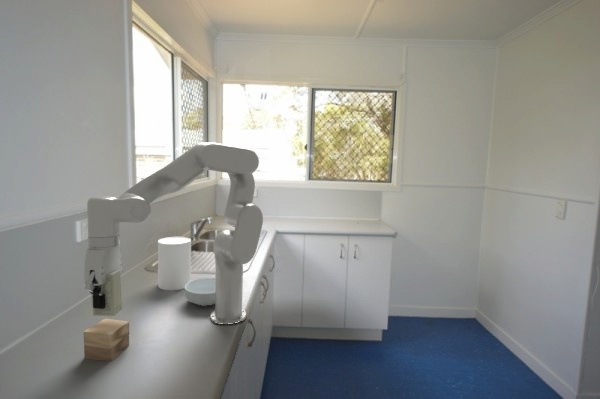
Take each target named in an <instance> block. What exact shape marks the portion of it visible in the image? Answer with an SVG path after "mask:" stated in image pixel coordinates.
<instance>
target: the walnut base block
mask: <svg viewBox="0 0 600 399" xmlns="http://www.w3.org/2000/svg"><path fill="white" fill-rule="evenodd" d="M129 346H130V334H129V335H128V336H127V337H125V338H124V339H123V340H121V341H120V342H119V343H117V344H116V345H115V346H113V347H112V348H111V349H106V348H99V347H92V346H86V345H84V344H83V351H84V353H83V354H84V357H83V358H84V359H88V360H98V361H106V362H107V361H108V362H113V361H114V360H115V359H116V358H117V357H119V356H120V354H121V353H122V352H124V351H125V350H126V349H127V348H128V347H129Z"/></svg>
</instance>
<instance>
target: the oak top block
mask: <svg viewBox="0 0 600 399" xmlns="http://www.w3.org/2000/svg"><path fill="white" fill-rule="evenodd" d="M128 335H129V336H130V321H129V320H128V321H127V320H121V319H112V318H103V319H101V320H100V321H99V322H97V323H95V324H93V325H92V326H90V327H89V328H86V329H85V330H83V346H84V345H86V346H92V347H99V348H106V349H111V348H112V347H113V346H115V345H116V344H117V343H119V342H120V341H121V340H123V339H124V338H125V337H127V336H128Z"/></svg>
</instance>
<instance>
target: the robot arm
mask: <svg viewBox="0 0 600 399" xmlns="http://www.w3.org/2000/svg"><path fill="white" fill-rule="evenodd" d="M259 164H260V160H259V157H258V153H256V152H255V151H254V150H252V149H250V148H247V147H240V146H234V145H227V144H223V143H218V142H200V143H199V142H198V143H197V144H196V145H193V146H192V147H190V149H189V148H188V149H187V151H185V152H184V153H182V154H181V155H179V156H178V157H177V158H175V159H174V160H172V161H171V162H169V163H168V164H167V165H165V166H164V167H163V168H160V169H159V170H156V172H154V173H152V174H151V175H149V176H147V177H145V178H144V179H142V180H139V181H138V182H137V183H136V184H134V185H133V186H131V187H130V188H128V189H127V190H126V191H124V192H123V193H122V194H121V195H120V196H119V197H118V198H117V197H114V196H107V195H104V196H103V195H101V196H93V197H90V198H89V199H88V200H87V203H86V206H87V207H86V208H87V209H86V210H87V211H86V212H87V238H88V239H87V244H88V245H87V247H88V248H87V249H86V253H85V256H84V257H85V258H84V269H83V271H84V273H83V274H84V276H83V278H84V279H83V282H84V284H85V287H84V290H85V291H87V292H89V293H90V295H91V296H92V295H93V305H92V309H93V308H97V309H104V308H105V294H103V292H104V285H105V283H107V281H108V275H109V274H111V273H112V272H114V271H116V270H120V276H121V275H122V274H123V268H122V267H123V265H122V264H123V262H122V251H121V250H122V249H121V245H120V242H121V240H120V223H129V224H130V223H131V224H137V223H138V224H139V223H141V222H145V221H146V220H147V219H148V218H149V217H150V216H151V213H152V206H151V204H152V203H153V202H155V201H156V200H158V199H160V198H162V197H164V196H166V195H170V194H173V193H177V192H180V191H183V190H184V189H185V188H186V187H188V186H190V185H191V184H192V183H193V182H194V181H196V180H197V179H198V178H199V177H201V176H202V175H204V173H206V172H208V171H213V172H214V171H215V172H218V173H227V175H228V177H229V181H230V183H229V184H230V186H229V193H228V197H227V200H226V205H225V208H224V213H223V217H224V218H223V219H224V221H225V223H226V224H227V225H229V226H230V227H233V228H234V230H232V229H223V230H222V231H220V232H219V233H217V234H216V236H215V237H214V240H213V254H214V262H215V264H214V265H215V275H214V276H215V277H214V278H215V304H214V310H212V311H211V313H210V315H209V316H210V318H211V319H210V321H212V322H213V321H214V322H217V323H223V324H228V323H235V322H238V321H242V322H243V321H244V320H245V319H246V318H247V311H246V310H245V309H244V308H243V287H244V286H243V283H244V281H243V280H244V278H243V277H244V266H243V265H246V264H249V263H250V262H251V261H252V259H253V258H254V257H255V255H256V252H257V249H258V246H259V241H260V237H261V236H260V235H261V233H262V228H263V222H264V217H263V216H264V215H263V212H262V210H261V208H260V207H259V206H257V205H256V204H254V203H253V201H254V196H255V195H254V194H255V189H256V183H255V178H254V174H253V173H255V172H256V170H257V169H258V168H259ZM96 281H98V283H96ZM97 286H100V288H99V289H98V288H96V287H97ZM214 322H213V323H214Z"/></svg>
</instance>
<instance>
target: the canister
mask: <svg viewBox="0 0 600 399" xmlns="http://www.w3.org/2000/svg"><path fill="white" fill-rule="evenodd" d="M157 276H158V277H157V286H158V289H161V290H163V291H179V290H184V288H185V285H186V284H187V283H188V282H190V281H192V277H191V276H192V238H189V237H186V236H169V237H167V236H166V237H162V238H159V239H158V240H157Z"/></svg>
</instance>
